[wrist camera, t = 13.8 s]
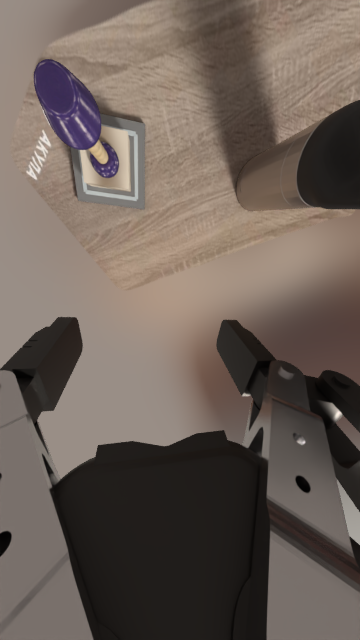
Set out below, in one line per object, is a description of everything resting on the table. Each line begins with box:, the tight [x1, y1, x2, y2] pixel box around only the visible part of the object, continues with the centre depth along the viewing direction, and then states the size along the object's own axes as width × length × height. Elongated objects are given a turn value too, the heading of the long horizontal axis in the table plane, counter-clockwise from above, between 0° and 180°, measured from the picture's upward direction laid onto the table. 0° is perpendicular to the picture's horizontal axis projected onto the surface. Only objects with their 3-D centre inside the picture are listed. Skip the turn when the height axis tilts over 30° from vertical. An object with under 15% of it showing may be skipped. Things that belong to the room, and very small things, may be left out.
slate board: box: [70, 114, 145, 209], centre depth 31 cm, size 12×12×1 cm
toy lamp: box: [34, 59, 119, 178], centre depth 20 cm, size 5×5×17 cm
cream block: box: [80, 126, 131, 192], centre depth 29 cm, size 7×7×4 cm
